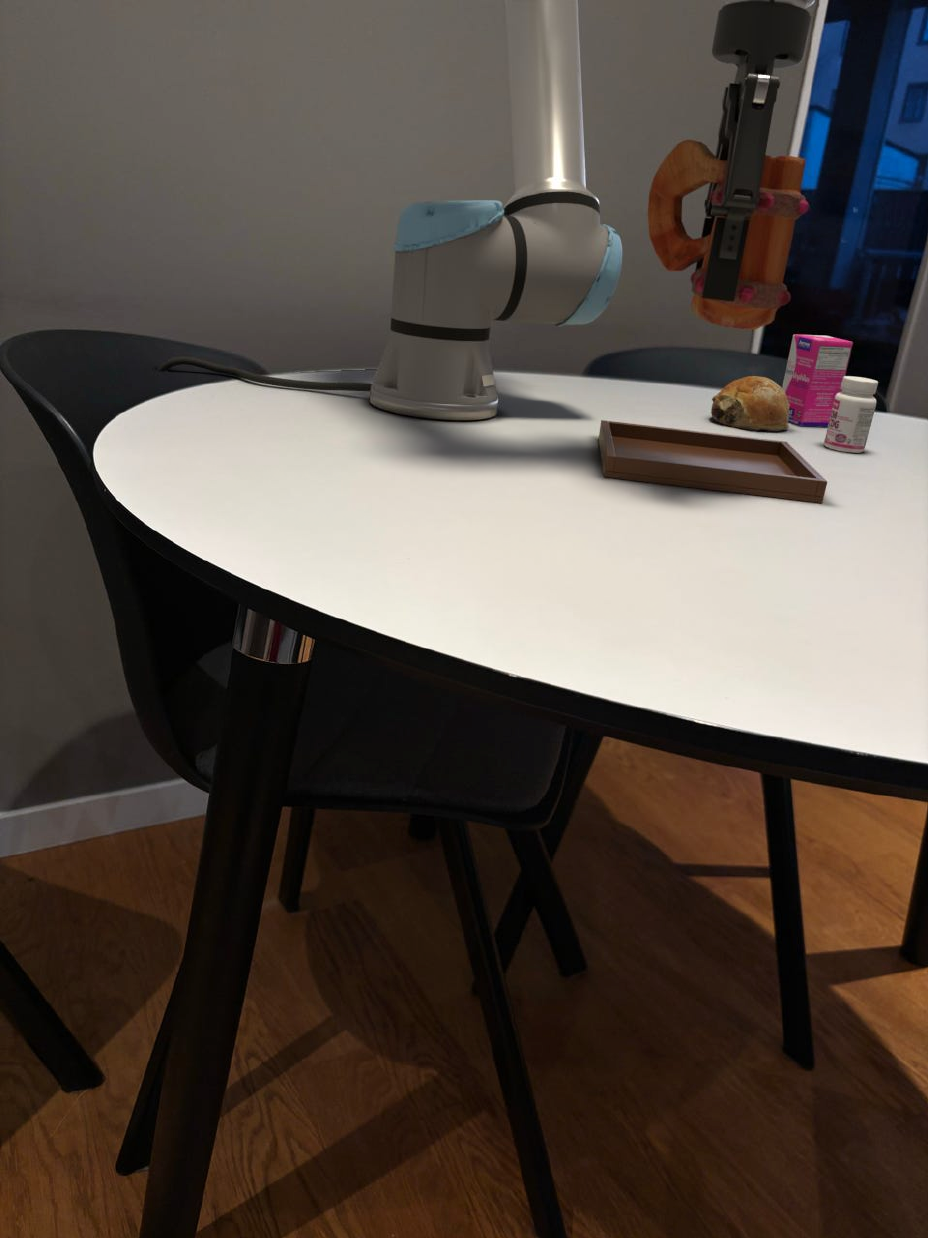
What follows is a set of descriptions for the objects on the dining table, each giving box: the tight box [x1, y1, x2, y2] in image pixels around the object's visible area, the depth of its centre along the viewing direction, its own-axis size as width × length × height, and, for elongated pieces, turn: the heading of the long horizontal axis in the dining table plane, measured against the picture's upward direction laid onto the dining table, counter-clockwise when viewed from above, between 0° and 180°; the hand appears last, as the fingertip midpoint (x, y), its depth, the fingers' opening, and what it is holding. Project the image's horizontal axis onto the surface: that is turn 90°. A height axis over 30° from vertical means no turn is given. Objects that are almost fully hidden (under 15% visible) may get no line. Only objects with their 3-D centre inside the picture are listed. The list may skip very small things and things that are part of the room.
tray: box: [598, 419, 828, 504], centre depth 101 cm, size 21×19×2 cm
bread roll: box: [710, 375, 790, 432], centre depth 128 cm, size 10×10×8 cm
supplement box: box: [781, 333, 854, 428], centre depth 133 cm, size 6×6×12 cm
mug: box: [647, 139, 810, 330], centre depth 88 cm, size 15×8×15 cm, turn 54°
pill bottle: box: [823, 375, 879, 454], centre depth 118 cm, size 5×5×8 cm
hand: (711, 295), depth 89 cm, fingers closed on mug, 8 cm apart
